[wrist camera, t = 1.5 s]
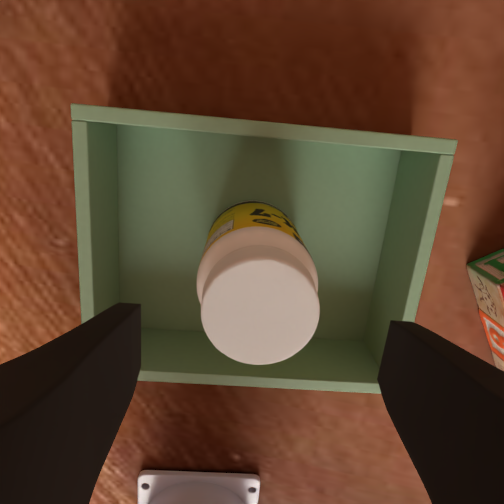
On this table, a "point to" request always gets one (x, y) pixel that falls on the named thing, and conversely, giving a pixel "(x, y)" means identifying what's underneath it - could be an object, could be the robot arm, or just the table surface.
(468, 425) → the robot arm
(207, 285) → the supplement bottle
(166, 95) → the table surface
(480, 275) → the stack of blocks
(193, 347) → the box
